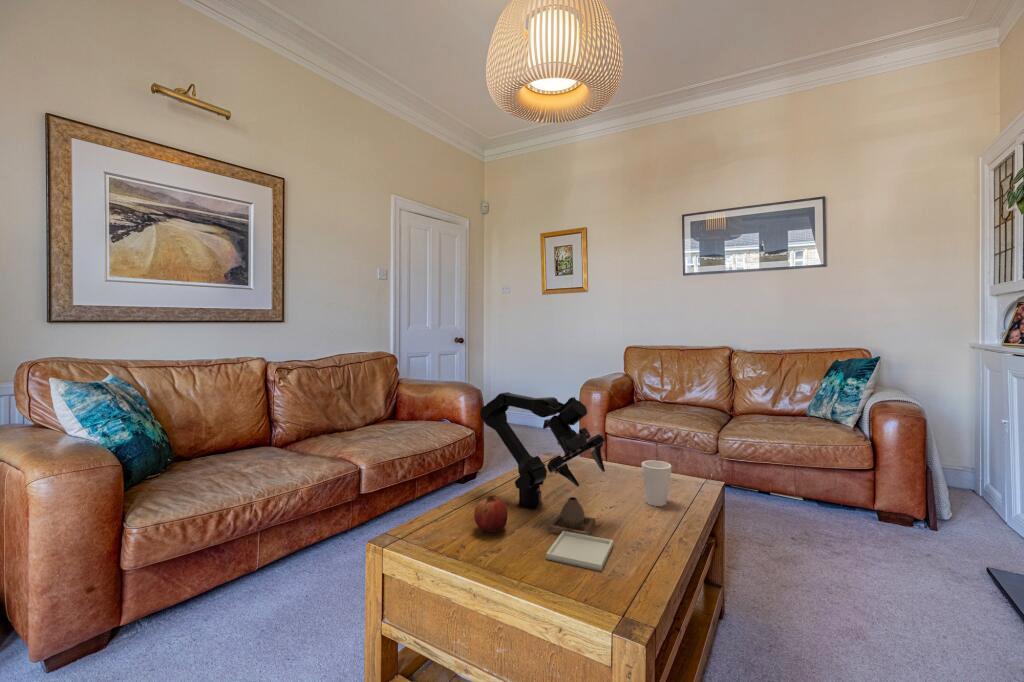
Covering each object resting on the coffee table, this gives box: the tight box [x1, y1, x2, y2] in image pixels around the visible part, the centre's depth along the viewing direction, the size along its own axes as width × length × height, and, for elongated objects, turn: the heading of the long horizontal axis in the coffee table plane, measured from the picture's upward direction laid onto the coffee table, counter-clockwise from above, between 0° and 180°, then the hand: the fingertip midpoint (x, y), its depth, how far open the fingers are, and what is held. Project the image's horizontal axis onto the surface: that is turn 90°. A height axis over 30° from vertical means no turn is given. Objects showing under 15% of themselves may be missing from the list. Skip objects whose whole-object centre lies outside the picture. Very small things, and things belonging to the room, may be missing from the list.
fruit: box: [473, 495, 509, 533], centre depth 130 cm, size 11×10×10 cm
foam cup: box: [641, 459, 672, 507], centre depth 151 cm, size 10×9×13 cm
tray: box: [545, 531, 614, 572], centre depth 117 cm, size 14×14×2 cm
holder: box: [548, 511, 597, 536], centre depth 132 cm, size 11×11×2 cm
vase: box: [560, 496, 586, 530], centre depth 131 cm, size 7×7×9 cm
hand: (591, 478), depth 133 cm, fingers open, 9 cm apart
